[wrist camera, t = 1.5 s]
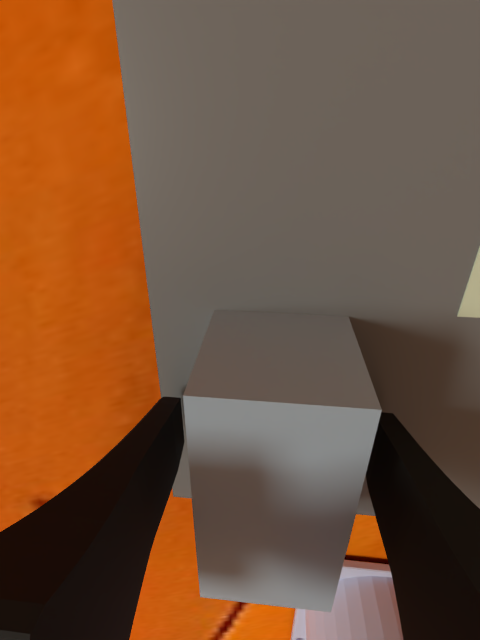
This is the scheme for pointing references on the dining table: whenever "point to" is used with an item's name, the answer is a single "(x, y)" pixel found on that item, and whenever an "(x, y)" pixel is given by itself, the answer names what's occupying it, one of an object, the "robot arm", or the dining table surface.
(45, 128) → the dining table surface
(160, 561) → the dining table surface
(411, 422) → the baseplate
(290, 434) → the slate brick
